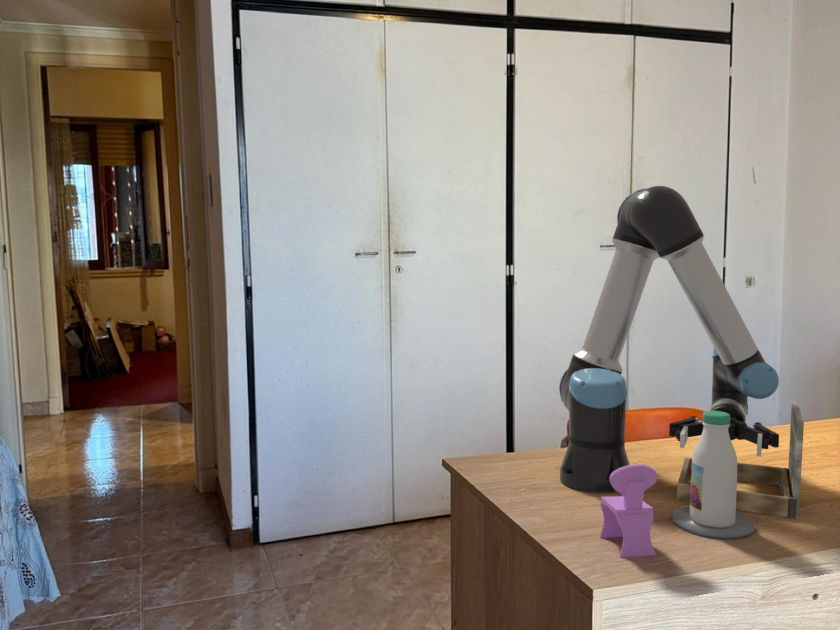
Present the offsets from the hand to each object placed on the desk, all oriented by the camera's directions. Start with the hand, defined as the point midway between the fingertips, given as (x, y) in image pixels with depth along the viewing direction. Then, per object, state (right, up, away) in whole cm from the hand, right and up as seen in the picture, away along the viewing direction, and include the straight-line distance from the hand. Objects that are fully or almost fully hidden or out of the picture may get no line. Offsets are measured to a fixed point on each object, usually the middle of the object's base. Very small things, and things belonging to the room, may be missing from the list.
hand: (719, 445), depth 139 cm
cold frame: (+7, -12, +11) cm, 17 cm away
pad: (-3, -13, -5) cm, 15 cm away
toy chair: (-22, -15, -15) cm, 30 cm away
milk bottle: (-4, -13, -6) cm, 15 cm away
